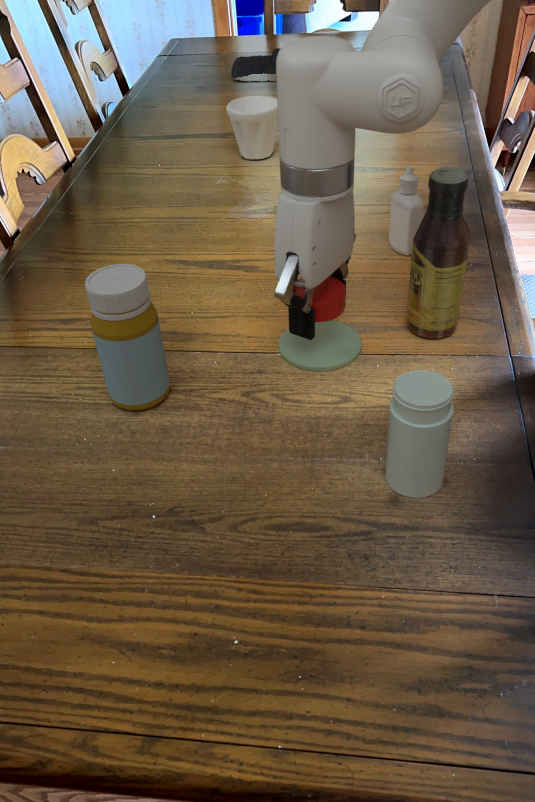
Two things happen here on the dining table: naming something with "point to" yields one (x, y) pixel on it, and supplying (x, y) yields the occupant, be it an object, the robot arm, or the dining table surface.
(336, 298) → the cap
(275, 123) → the cup
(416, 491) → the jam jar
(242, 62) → the black sneaker
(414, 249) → the sauce bottle
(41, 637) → the dining table surface
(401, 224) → the eye dropper bottle
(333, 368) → the coaster
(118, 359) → the bottle
